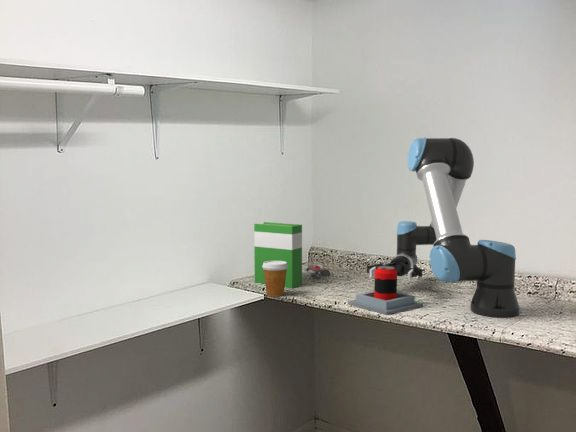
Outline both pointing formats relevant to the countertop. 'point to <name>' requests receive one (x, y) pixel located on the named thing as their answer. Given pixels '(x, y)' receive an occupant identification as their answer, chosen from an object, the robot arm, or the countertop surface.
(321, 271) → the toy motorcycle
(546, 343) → the countertop surface
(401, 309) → the dock
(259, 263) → the cereal box
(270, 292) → the disposable coffee cup
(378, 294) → the soda can
